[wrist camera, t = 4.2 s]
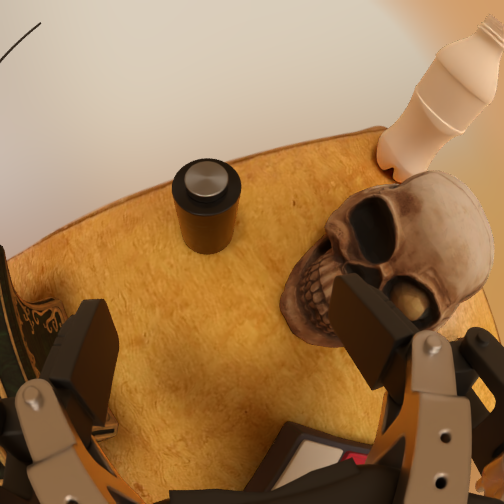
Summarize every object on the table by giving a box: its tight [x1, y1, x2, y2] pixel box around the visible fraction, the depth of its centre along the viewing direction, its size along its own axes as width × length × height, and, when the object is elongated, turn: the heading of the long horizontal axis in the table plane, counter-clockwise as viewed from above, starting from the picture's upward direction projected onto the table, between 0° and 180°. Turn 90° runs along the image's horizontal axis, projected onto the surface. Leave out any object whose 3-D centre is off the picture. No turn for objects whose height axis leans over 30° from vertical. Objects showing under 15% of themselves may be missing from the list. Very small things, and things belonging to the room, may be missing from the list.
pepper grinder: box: [172, 158, 241, 254], centre depth 20 cm, size 5×5×8 cm
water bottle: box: [377, 14, 504, 183], centre depth 19 cm, size 7×7×25 cm
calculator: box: [244, 422, 373, 492], centre depth 15 cm, size 11×4×15 cm
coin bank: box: [280, 171, 494, 348], centre depth 20 cm, size 16×17×13 cm
